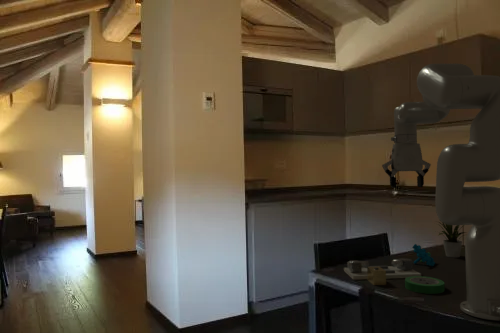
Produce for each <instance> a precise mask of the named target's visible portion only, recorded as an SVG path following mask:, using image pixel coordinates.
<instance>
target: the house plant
mask: <svg viewBox="0 0 500 333" xmlns="http://www.w3.org/2000/svg"><path fill="white" fill-rule="evenodd" d="M435 222H436V223H437V225H438V226H439V227H441V228H442V231H435V232H437V233H439V234H438V235H437V237H439V236H442V235H443V237H444V238H445V239H443V240H442V242H443V243H442V244H443V248H444V251H445V257H448V258H460V257H461V250H462V244H463V241H462V240H460V239H461V238H462V237H464V236H465V234H468V232H466V231H461V232H460V230H461V229H462V228H463V227H465V225H447V224H444V223H443V222H441V221H437V220H435ZM453 226H454V228H453ZM460 226H461V227H460ZM459 227H460V228H459ZM461 235H462V236H461ZM458 237H459V238H458Z"/></svg>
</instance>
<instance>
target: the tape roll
mask: <svg viewBox="0 0 500 333" xmlns="http://www.w3.org/2000/svg"><path fill="white" fill-rule="evenodd" d="M404 287H405V289H406V290H409V291H410V292H414V293H417V294H427V295H430V294H431V295H432V294H436V295H437V294H442V293H444V292H445V291H446V290H445V282H444V281H443V280H441V279H440V278H437V277H436V278H435V277H431V276H422V275H421V276H412V277H407V278H404Z"/></svg>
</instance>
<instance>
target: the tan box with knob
mask: <svg viewBox="0 0 500 333" xmlns="http://www.w3.org/2000/svg"><path fill="white" fill-rule="evenodd" d="M367 272H368V279H367V281H368V282H369V283H370V284H371V285H373V286H386V285H387V279H386V271H385V270H384V269H382V268H381V267H367Z"/></svg>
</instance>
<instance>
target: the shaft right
mask: <svg viewBox="0 0 500 333" xmlns="http://www.w3.org/2000/svg"><path fill="white" fill-rule="evenodd" d="M413 264H414V261H413V260H412V258H406V257H400V258H396V259H393V260H391V266H393V267H397V268H398V269H401V270H404V271H409V270H412V269H413Z"/></svg>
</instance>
